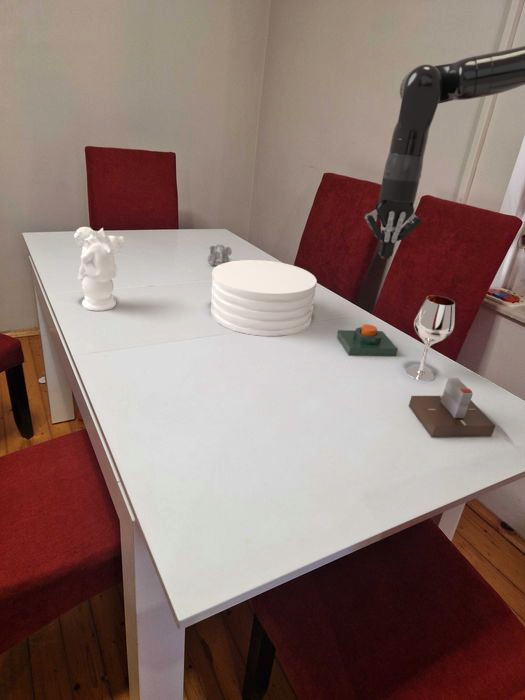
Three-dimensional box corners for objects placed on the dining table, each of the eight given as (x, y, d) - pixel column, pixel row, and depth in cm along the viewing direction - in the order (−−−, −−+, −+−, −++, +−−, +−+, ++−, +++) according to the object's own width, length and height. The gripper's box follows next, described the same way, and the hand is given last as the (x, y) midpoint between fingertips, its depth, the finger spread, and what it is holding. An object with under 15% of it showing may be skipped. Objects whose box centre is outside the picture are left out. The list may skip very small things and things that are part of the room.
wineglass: (420, 386, 98) (442, 309, 90) (393, 369, 104) (412, 295, 96) (445, 379, 102) (469, 305, 94) (418, 363, 108) (438, 291, 100)
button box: (380, 338, 119) (383, 324, 117) (395, 356, 110) (399, 342, 108) (336, 337, 117) (339, 323, 115) (348, 356, 108) (351, 341, 106)
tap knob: (440, 401, 88) (448, 376, 86) (449, 401, 89) (458, 376, 86) (454, 418, 83) (463, 392, 81) (464, 418, 84) (473, 392, 81)
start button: (372, 330, 114) (373, 324, 113) (377, 337, 110) (379, 330, 110) (358, 330, 113) (360, 324, 112) (363, 336, 110) (365, 330, 109)
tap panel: (463, 405, 92) (467, 394, 91) (491, 436, 84) (496, 424, 83) (408, 406, 91) (411, 394, 89) (431, 437, 82) (435, 425, 81)
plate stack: (331, 326, 123) (338, 286, 118) (242, 343, 109) (245, 299, 104) (275, 292, 144) (278, 256, 138) (194, 303, 129) (194, 264, 124)
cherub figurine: (75, 301, 123) (66, 219, 113) (118, 293, 131) (113, 216, 121) (93, 316, 115) (86, 230, 105) (138, 307, 123) (135, 226, 113)
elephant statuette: (225, 260, 170) (226, 240, 167) (239, 270, 161) (240, 248, 158) (202, 262, 166) (202, 241, 162) (215, 272, 157) (216, 250, 153)
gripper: (422, 177, 100) (404, 254, 107) (365, 172, 97) (351, 252, 105) (438, 182, 93) (418, 264, 101) (378, 177, 91) (362, 261, 99)
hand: (384, 257), depth 103 cm, fingers closed
